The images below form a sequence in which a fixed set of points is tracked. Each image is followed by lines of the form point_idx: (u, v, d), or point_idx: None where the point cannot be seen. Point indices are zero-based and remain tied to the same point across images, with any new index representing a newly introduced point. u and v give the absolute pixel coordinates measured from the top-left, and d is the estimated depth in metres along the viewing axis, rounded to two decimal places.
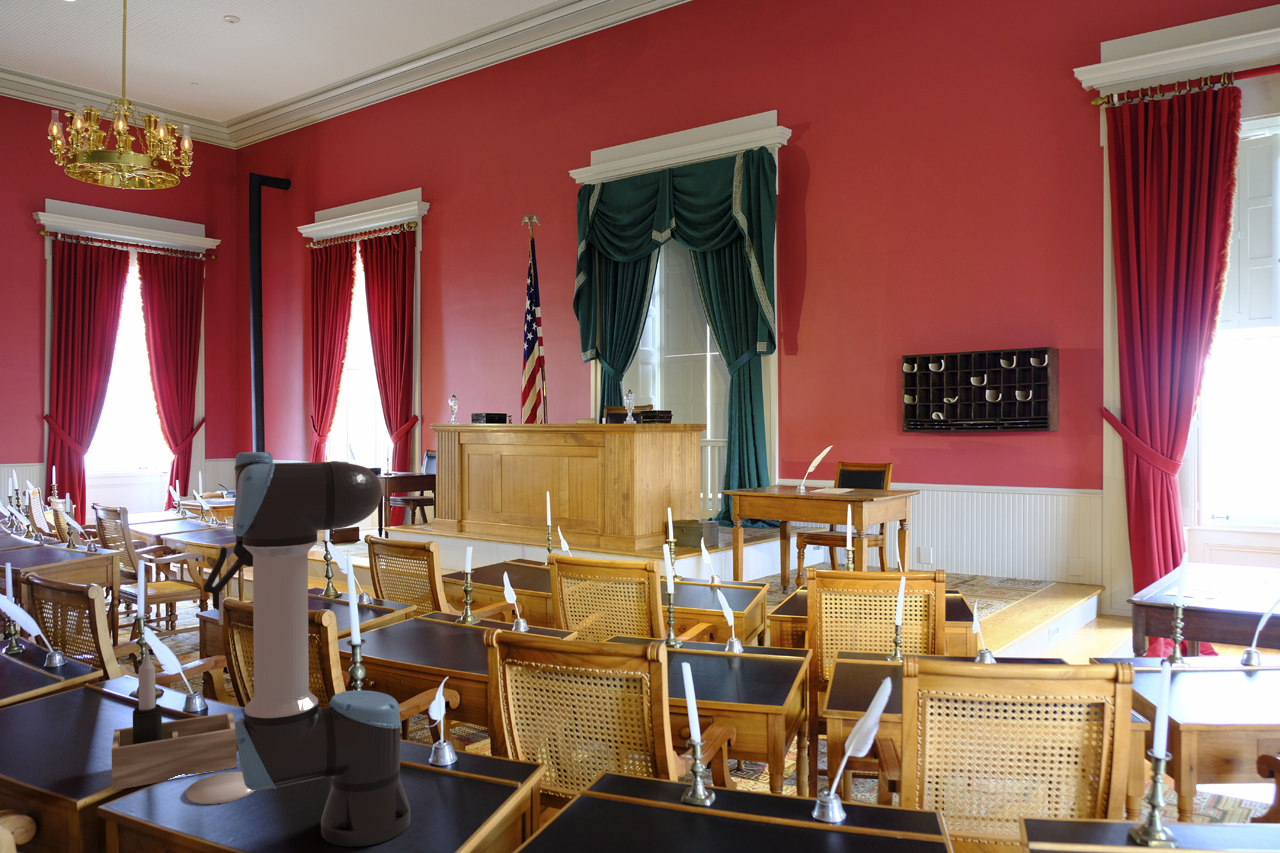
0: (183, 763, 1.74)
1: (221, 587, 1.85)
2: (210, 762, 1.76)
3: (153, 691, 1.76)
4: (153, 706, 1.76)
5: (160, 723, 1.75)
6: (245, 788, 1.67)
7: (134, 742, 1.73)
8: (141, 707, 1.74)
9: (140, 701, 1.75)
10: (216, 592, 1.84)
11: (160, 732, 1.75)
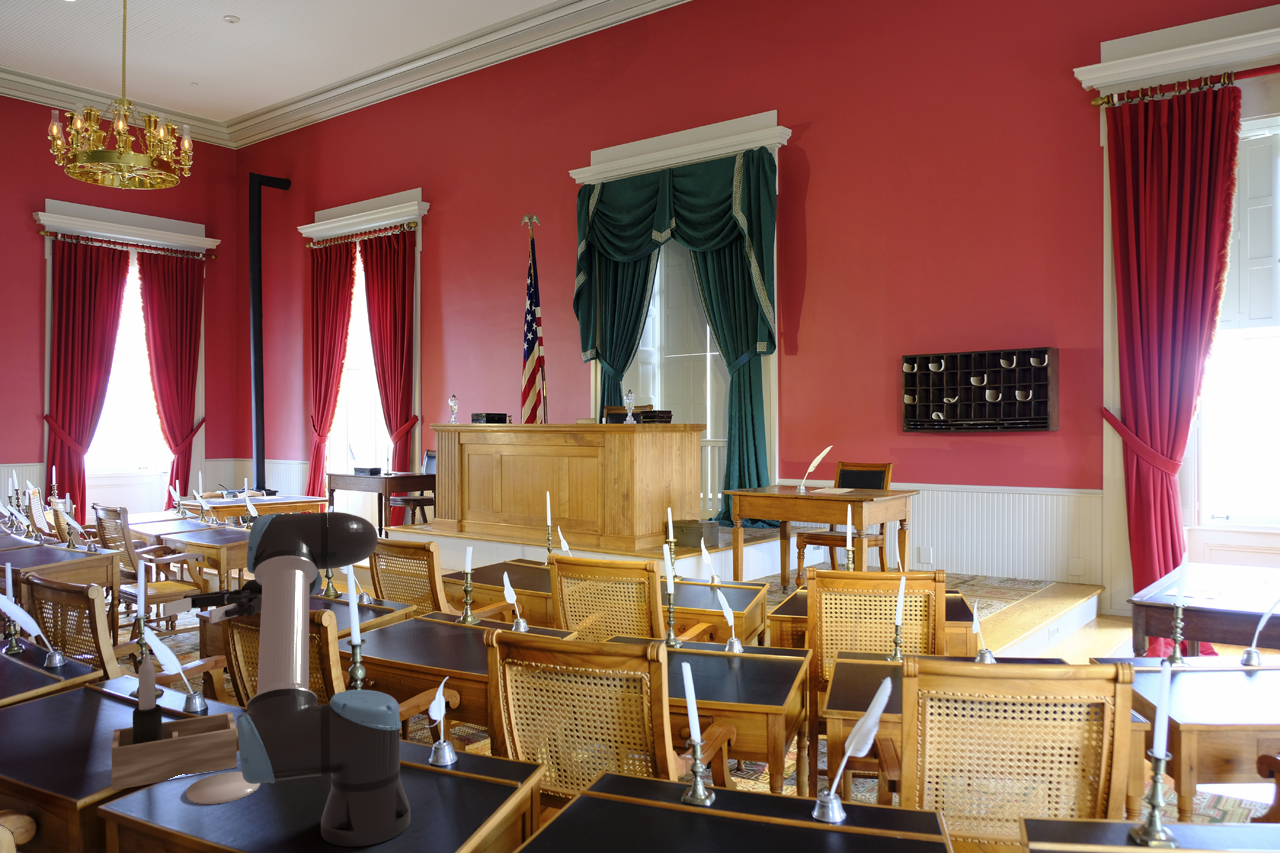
0: (183, 763, 1.74)
1: (195, 597, 1.94)
2: (210, 762, 1.76)
3: (153, 691, 1.76)
4: (153, 706, 1.76)
5: (160, 723, 1.75)
6: (245, 788, 1.67)
7: (134, 742, 1.73)
8: (141, 707, 1.74)
9: (140, 701, 1.75)
10: (189, 597, 1.93)
11: (160, 732, 1.75)
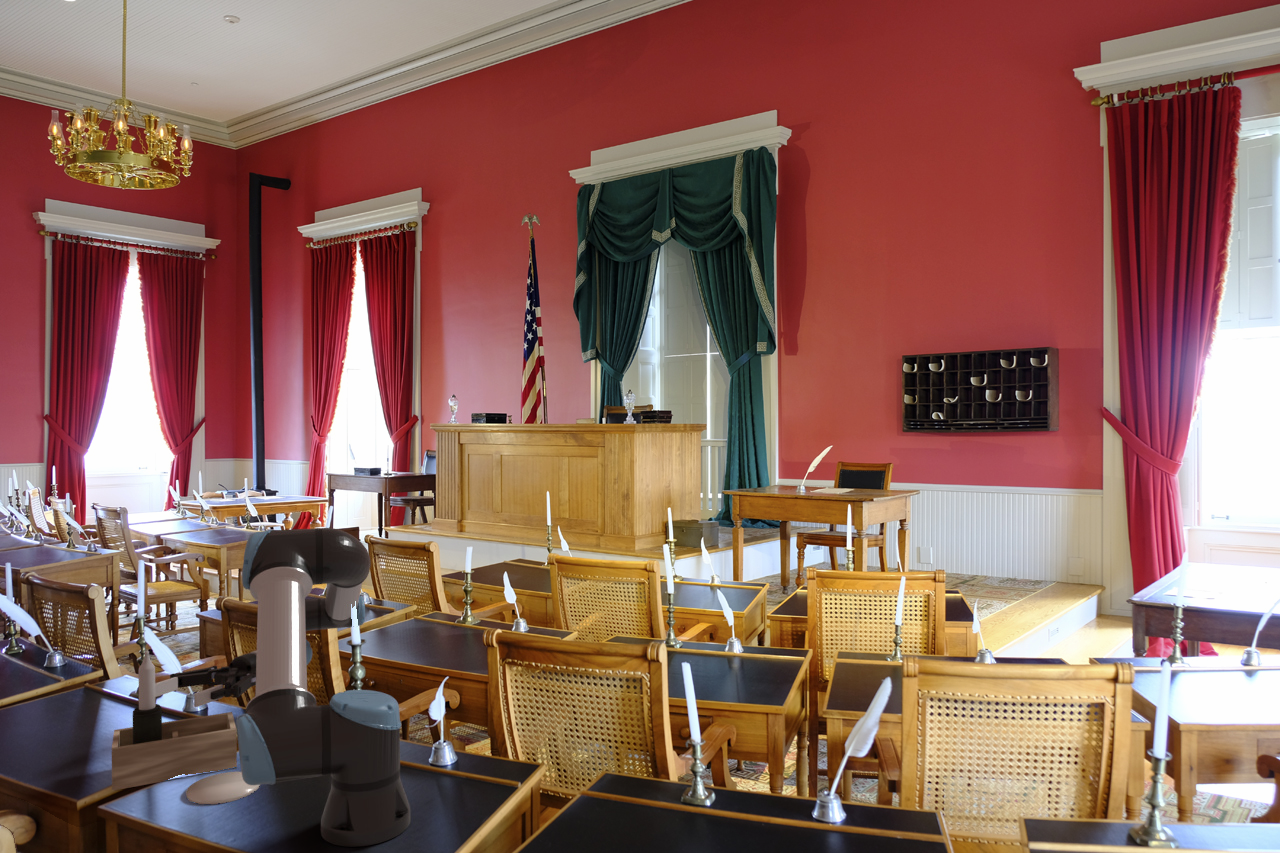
0: (183, 763, 1.74)
1: (182, 676, 1.91)
2: (210, 762, 1.76)
3: (153, 691, 1.76)
4: (153, 706, 1.76)
5: (160, 723, 1.75)
6: (245, 788, 1.67)
7: (134, 742, 1.73)
8: (141, 707, 1.74)
9: (140, 701, 1.75)
10: (175, 676, 1.91)
11: (160, 732, 1.75)
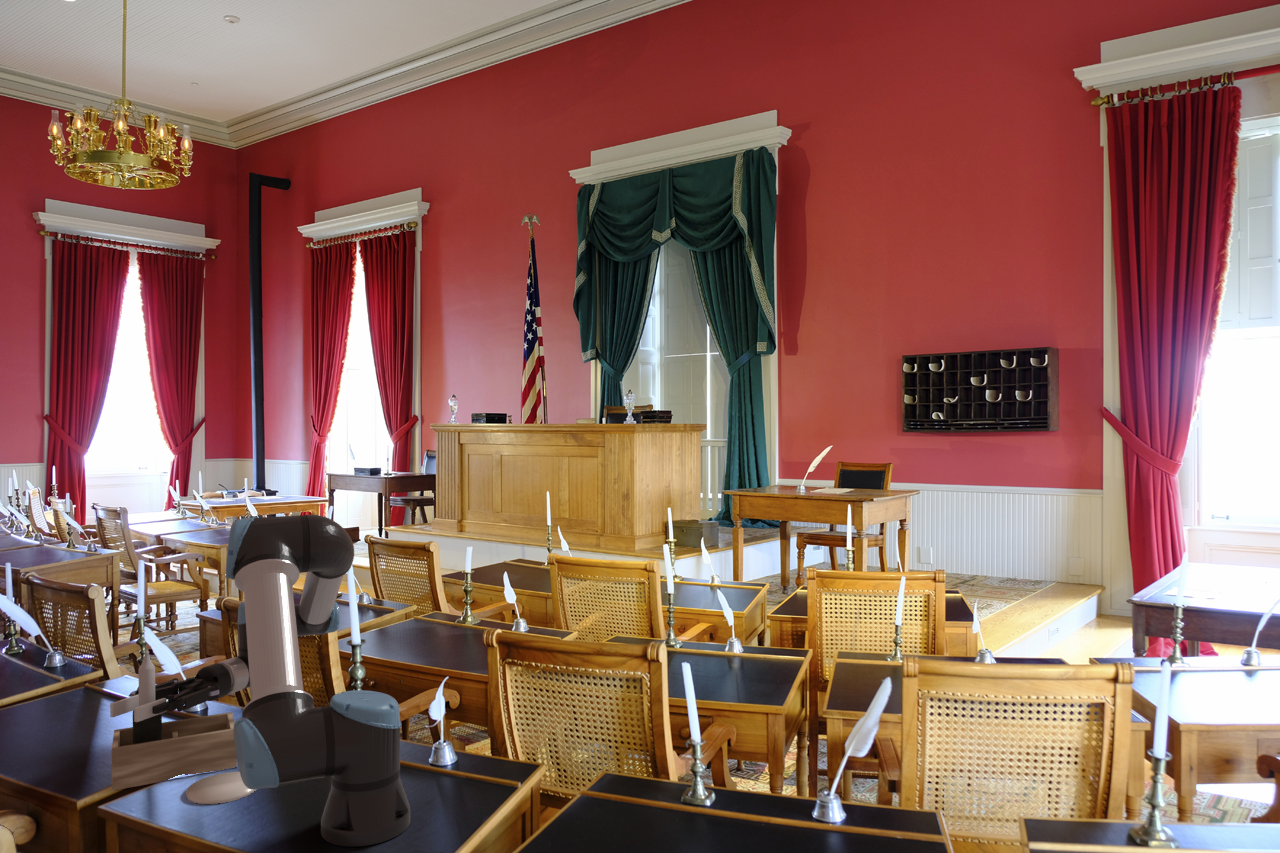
0: (183, 763, 1.74)
1: None
2: (210, 762, 1.76)
3: (153, 691, 1.76)
4: None
5: (160, 723, 1.75)
6: (245, 788, 1.67)
7: (134, 742, 1.73)
8: None
9: (140, 701, 1.75)
10: None
11: (160, 732, 1.75)
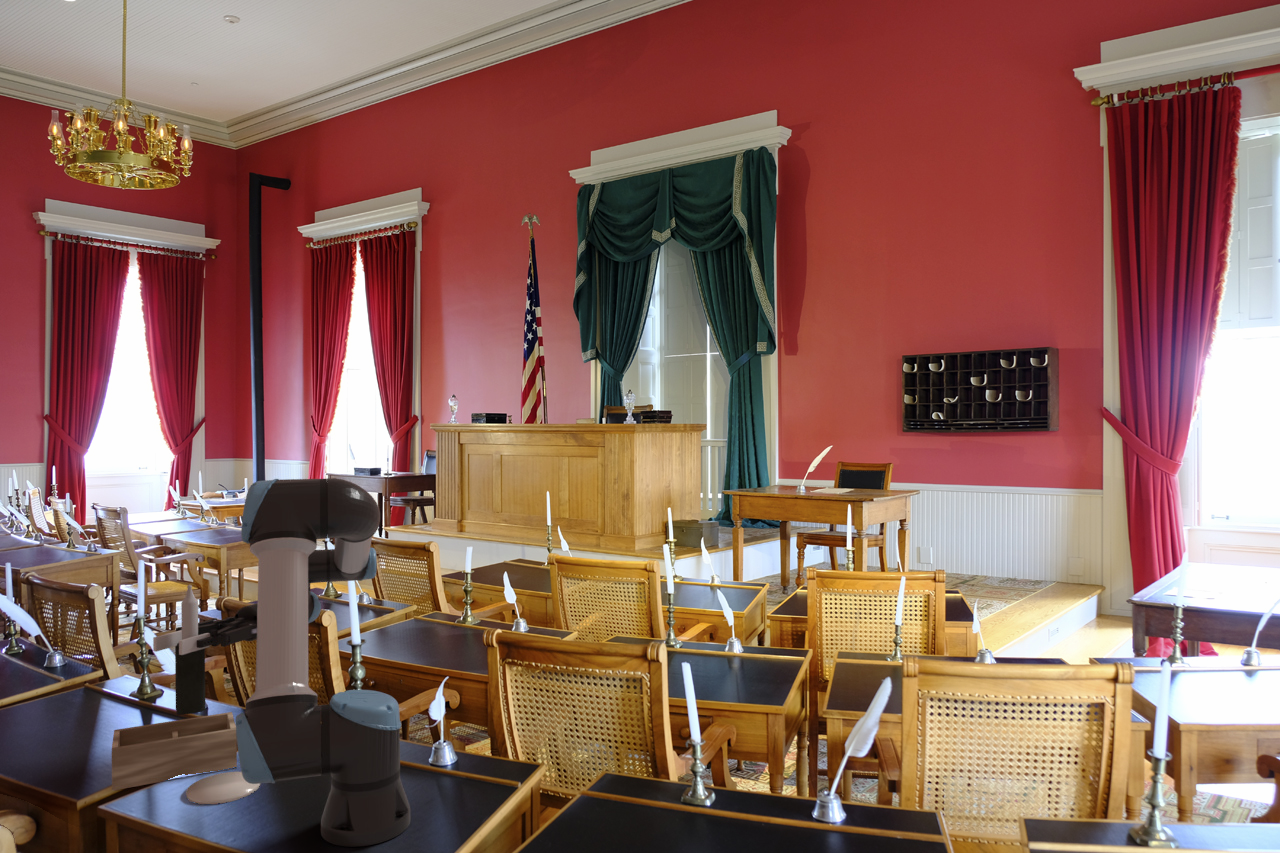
0: (183, 763, 1.74)
1: None
2: (210, 762, 1.76)
3: (196, 626, 1.73)
4: None
5: (203, 658, 1.72)
6: (245, 788, 1.67)
7: (178, 677, 1.70)
8: None
9: (183, 635, 1.72)
10: None
11: (203, 667, 1.72)
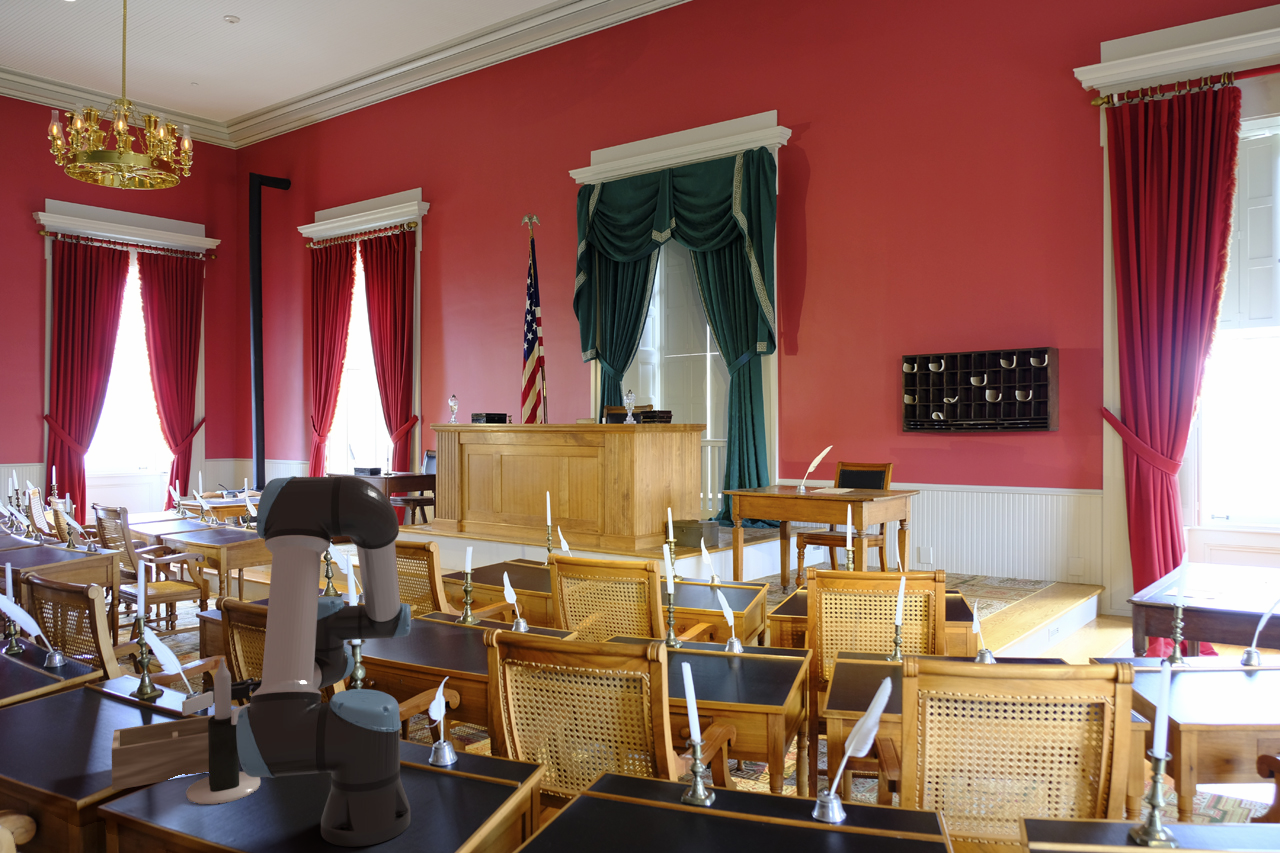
0: (183, 763, 1.74)
1: None
2: None
3: (229, 700, 1.68)
4: (229, 715, 1.68)
5: None
6: (245, 788, 1.67)
7: (211, 753, 1.65)
8: (217, 716, 1.67)
9: (216, 710, 1.67)
10: (210, 690, 1.74)
11: None
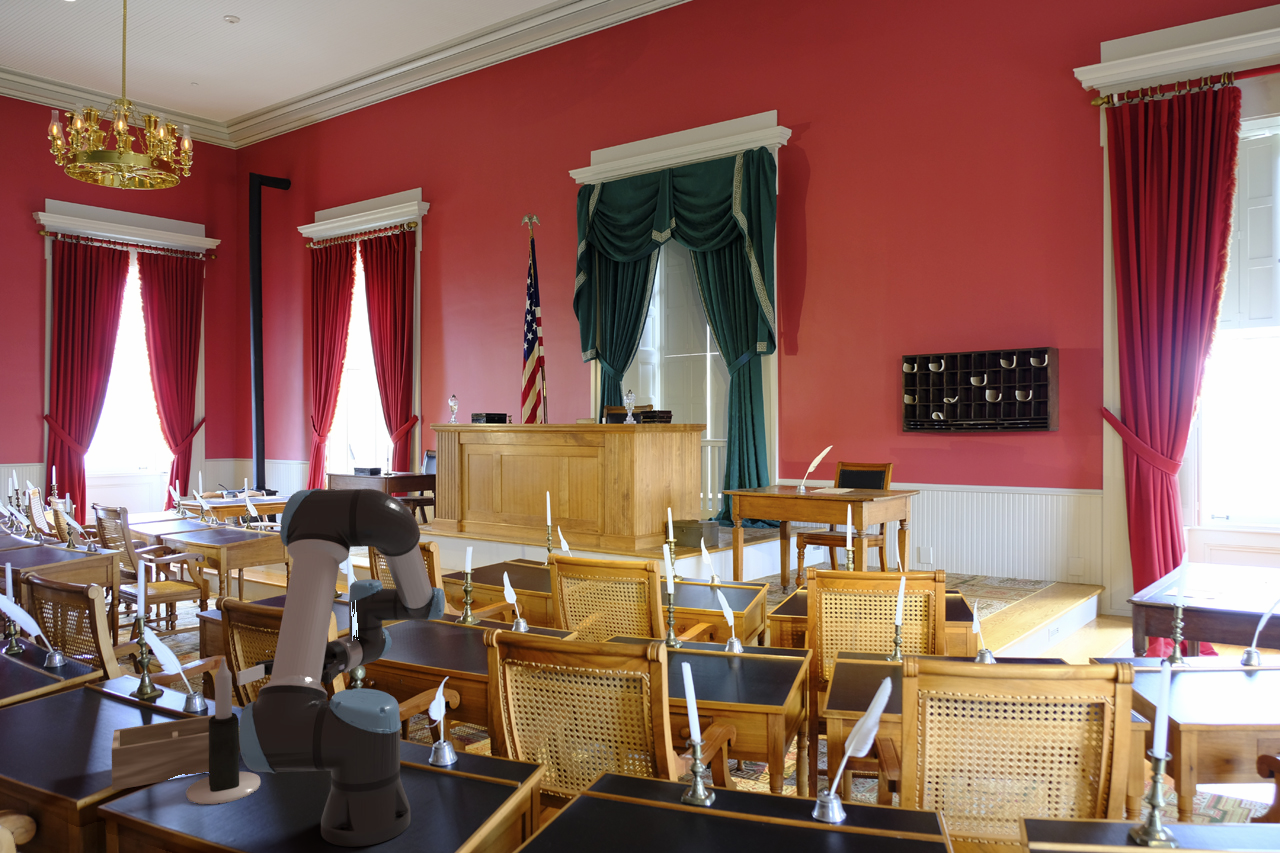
0: (183, 763, 1.74)
1: (268, 663, 1.87)
2: None
3: (230, 699, 1.68)
4: (230, 715, 1.68)
5: (237, 733, 1.68)
6: (245, 788, 1.67)
7: (211, 753, 1.65)
8: (218, 716, 1.67)
9: (217, 710, 1.67)
10: (261, 663, 1.87)
11: (237, 742, 1.68)
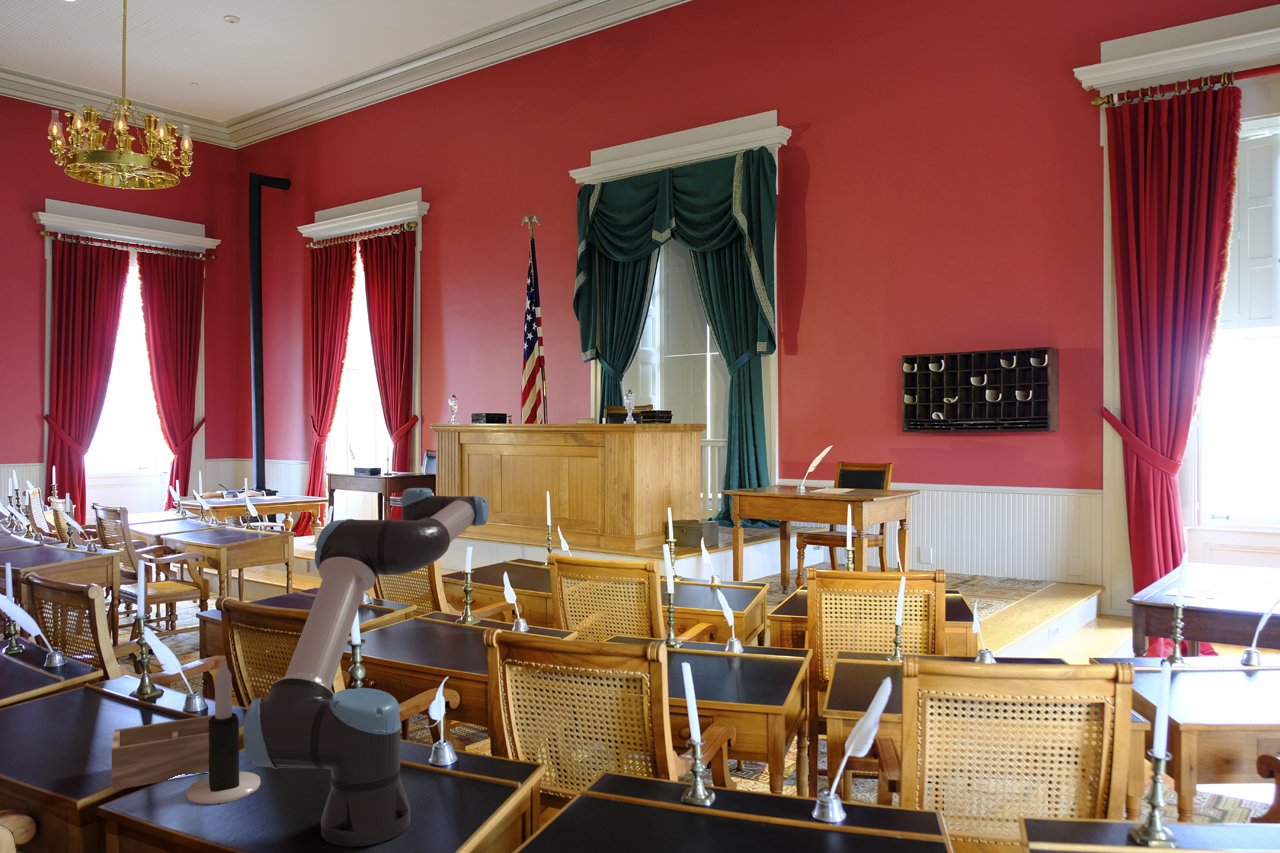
0: (183, 763, 1.74)
1: None
2: None
3: (230, 699, 1.68)
4: (230, 715, 1.68)
5: (237, 733, 1.68)
6: (245, 788, 1.67)
7: (211, 753, 1.65)
8: (218, 716, 1.67)
9: (217, 710, 1.67)
10: None
11: (237, 742, 1.68)
